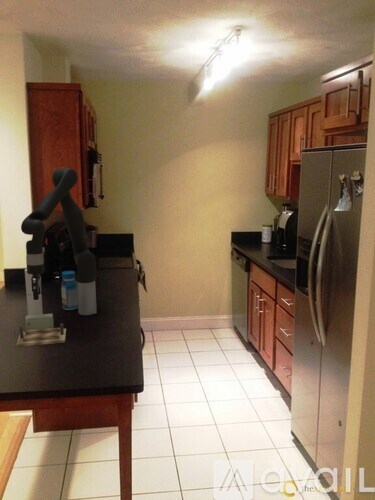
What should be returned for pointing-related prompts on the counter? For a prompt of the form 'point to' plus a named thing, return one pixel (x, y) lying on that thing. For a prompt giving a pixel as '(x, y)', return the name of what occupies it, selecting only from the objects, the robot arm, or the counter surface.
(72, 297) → the blue pill bottle
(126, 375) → the counter surface
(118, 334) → the counter surface
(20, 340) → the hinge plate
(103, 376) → the counter surface
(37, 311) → the cylindrical container
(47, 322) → the rectangular block
